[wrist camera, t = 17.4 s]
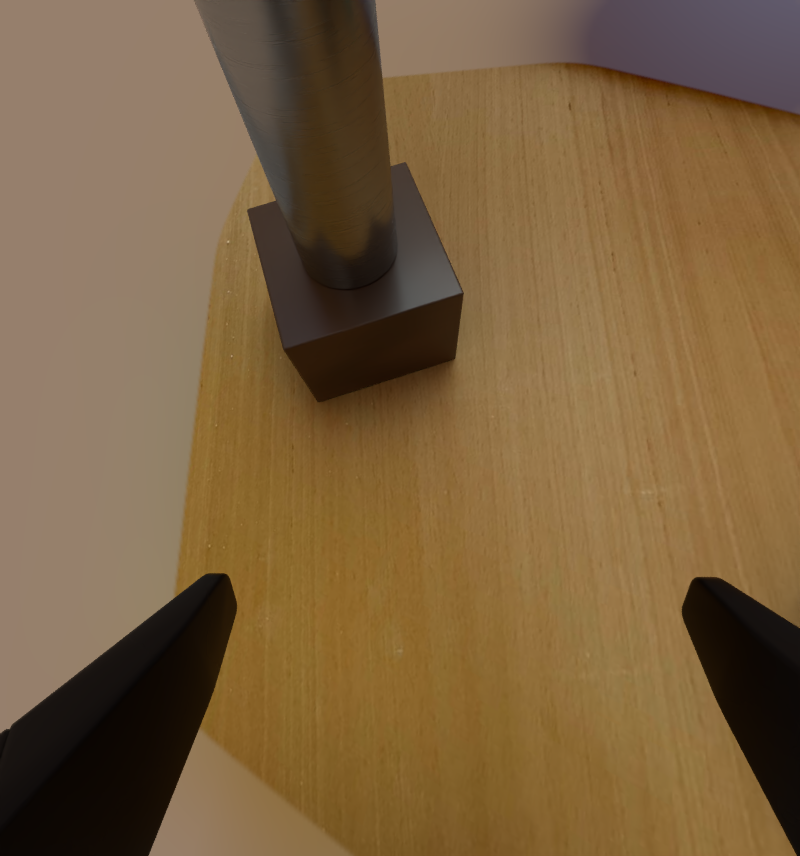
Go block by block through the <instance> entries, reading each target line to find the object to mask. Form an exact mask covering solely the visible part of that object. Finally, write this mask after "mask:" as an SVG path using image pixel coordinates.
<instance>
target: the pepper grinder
mask: <svg viewBox="0 0 800 856" xmlns="http://www.w3.org/2000/svg"><path fill="white" fill-rule="evenodd" d="M194 2H195V4H196V7H197V9H198V11H199V14H200V16H201V19H202V21H203V24H204V26H205V28H206V31H207V33H208V36H209V38H210V41H211V43H212V45H213V48H214V50H215V53H216V55H217V58H218V60H219V62H220V65H221V67H222V70H223V72H224V75H225V77H226V80H227V82H228V84H229V87H230V89H231V92H232V94H233V97H234V99H235V101H236V104H237V106H238V109H239V111H240V114H241V116H242V118H243V121H244V123H245V126H246V128H247V131H248V133H249V136H250V138H251V140H252V143H253V145H254V148H255V150H256V153H257V155H258V157H259V160H260V162H261V165H262V167H263V170H264V172H265V174H266V177H267V179H268V182H269V184H270V187H271V189H272V191H273V194H274V196H275V199H276V201H277V204H278V206H279V208H280V211H281V213H282V216H283V218H284V221H285V223H286V226H287V228H288V230H289V233H290V235H291V238H292V240H293V243H294V245H295V247H296V250H297V252H298V255H299V257H300V260H301V262H302V264H303V266H304V268H305V270H306V271H307V273H308V274H309V275H310V276H311V277H312V278H313V279H314V280H316V281H317V282H319V283H321V284H323V285H325V286H328V287H331V288H336V289H354V288H359V287H363V286H366V285H368V284H370V283H372V282H374V281H376V280H377V279H379V278H380V277H381V276H383V275H384V274H385V273H386V272H387V271H388V269H389V268H390V267H391V265H392V263H393V262H394V259H395V257H396V254H397V248H398V242H397V231H396V220H395V209H394V198H393V187H392V176H391V166H390V155H389V144H388V133H387V122H386V112H385V101H384V90H383V79H382V69H381V58H380V47H379V36H378V25H377V15H376V3H375V0H194Z"/></svg>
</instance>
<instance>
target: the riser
mask: <svg viewBox="0 0 800 856" xmlns="http://www.w3.org/2000/svg"><path fill="white" fill-rule="evenodd" d="M391 176H392V187H393V198H394V209H395V220H396V231H397V242H398V248H397V254H396V257H395V259H394V262H393V263H392V265H391V267H390V268H389V269H388V271H387V272H386V273H385V274H384V275H383V276H381V277H380V278H379V279H377V280H376V281H374V282H372V283H370V284H368V285H366V286H363V287H359V288H354V289H336V288H331V287H328V286H325V285H323V284H321V283H319V282H317V281H316V280H314V279H313V278H312V277H311V276H310V275H309V274H308V273H307V271H306V270H305V268H304V266H303V264H302V262H301V260H300V257H299V255H298V252H297V250H296V247H295V245H294V243H293V240H292V238H291V235H290V233H289V230H288V228H287V226H286V223H285V221H284V218H283V216H282V213H281V211H280V208H279V206H278V204H277V201H274V202H270V203H267V204H264V205H260V206H257V207H253V208H250V209H248V210H247V212H248V216H249V220H250V223H251V227H252V231H253V235H254V239H255V243H256V247H257V250H258V254H259V258H260V262H261V266H262V270H263V273H264V277H265V281H266V285H267V289H268V293H269V296H270V300H271V304H272V308H273V312H274V316H275V320H276V323H277V327H278V331H279V335H280V339H281V343H282V346H283V350H284V351H285V353H286V354H287V356H288V357H289V359H290V360H291V362H292V363H293V365H294V366H295V368H296V369H297V371H298V372H299V374H300V376H301V377H302V379H303V380H304V382H305V383H306V385H307V386H308V388H309V389H310V391H311V392H312V394H313V395H314V397H315V398H316V400H317V401H318V402H321V401H324V400H327V399H331V398H334V397H337V396H340V395H343V394H346V393H349V392H352V391H356V390H359V389H362V388H365V387H368V386H371V385H374V384H377V383H381V382H384V381H387V380H390V379H393V378H396V377H399V376H402V375H406V374H409V373H412V372H415V371H418V370H421V369H424V368H427V367H431V366H434V365H437V364H440V363H443V362H446V361H449V360H452V359H455V356H456V348H457V341H458V333H459V325H460V318H461V310H462V302H463V294H464V293H463V290H462V288H461V286H460V283H459V281H458V279H457V277H456V274H455V272H454V270H453V268H452V265H451V263H450V261H449V259H448V256H447V254H446V252H445V250H444V247H443V245H442V243H441V240H440V238H439V236H438V234H437V231H436V229H435V227H434V225H433V222H432V220H431V218H430V216H429V213H428V211H427V209H426V206H425V204H424V202H423V200H422V197H421V195H420V193H419V191H418V188H417V186H416V184H415V182H414V179H413V177H412V175H411V173H410V170H409V168H408V166H407V164H406V162H404V163H401V164H397V165H394V166H391Z"/></svg>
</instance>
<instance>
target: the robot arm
mask: <svg viewBox="0 0 800 856" xmlns="http://www.w3.org/2000/svg"><path fill="white" fill-rule="evenodd" d="M236 611H237V602H236V598H235V595H234V591H233V588H232V584H231V581H230V578H229V576H228V575H227V574H224V573H209V574H206V575H204V576H202V577H201V578H200V579H198V580H197V581H196V582H195V583H193V584H192V585H191V586H189V587H188V588H187V589H186V590H184V591H183V592H182V593H180V594H179V595H178V596H177V597H175V598H174V599H173V600H171V601H170V602H169V603H168V604H166V605H165V606H164V607H162V608H161V609H160V610H159V611H157V612H156V613H155V614H153V615H152V616H151V617H150V618H148V619H147V620H146V621H144V622H143V623H142V624H141V625H139V626H138V627H137V628H136V629H134V630H133V631H132V632H130V633H129V634H128V635H126V636H125V637H124V638H123V639H122V640H120V641H119V642H117V643H116V644H115V645H114V646H113V647H111V648H110V649H109V650H107V651H106V652H105V653H103V654H102V655H101V656H100V657H98V658H97V659H96V660H94V661H93V662H92V663H91V664H89V665H88V666H87V667H85V668H84V669H83V670H82V671H80V672H79V673H78V674H76V675H75V676H74V677H73V678H71V679H70V680H69V681H68V682H66V683H65V684H64V685H62V686H61V687H60V688H58V689H57V690H56V691H55V692H53V693H52V694H51V695H50V696H48V697H47V698H46V699H44V700H43V701H42V702H40V703H39V704H38V705H37V706H35V707H34V708H33V709H32V710H30V711H29V712H28V713H26V714H25V715H24V716H23V717H21V718H20V719H19V720H17V721H16V722H15V723H13V724H12V726H11V728H10V729H6V730H4V731H3V732H2V733H0V856H148V855H149V853H150V851H151V848H152V845H153V843H154V840H155V838H156V835H157V833H158V830H159V828H160V826H161V823H162V820H163V818H164V815H165V813H166V810H167V808H168V805H169V803H170V800H171V798H172V795H173V793H174V790H175V788H176V785H177V783H178V780H179V778H180V775H181V773H182V770H183V767H184V765H185V763H186V760H187V758H188V755H189V753H190V750H191V748H192V745H193V743H194V740H195V737H196V735H197V733H198V730H199V728H200V725H201V723H202V720H203V717H204V715H205V712H206V710H207V707H208V705H209V702H210V699H211V697H212V694H213V691H214V688H215V685H216V682H217V678H218V675H219V672H220V668H221V665H222V661H223V658H224V654H225V651H226V647H227V644H228V640H229V637H230V633H231V630H232V626H233V623H234V620H235V616H236ZM682 616H683V620H684V623H685V625H686V628H687V630H688V633H689V635H690V638H691V640H692V642H693V645H694V647H695V650H696V652H697V655H698V657H699V660H700V662H701V664H702V667H703V669H704V672H705V674H706V677H707V679H708V682H709V684H710V686H711V689H712V691H713V693H714V696H715V698H716V700H717V703H718V705H719V707H720V709H721V711H722V713H723V715H724V717H725V719H726V721H727V723H728V725H729V727H730V728H731V730H732V732H733V734H734V736H735V738H736V740H737V742H738V744H739V746H740V748H741V750H742V751H743V753H744V755H745V757H746V759H747V761H748V763H749V765H750V767H751V769H752V771H753V773H754V774H755V776H756V778H757V780H758V782H759V784H760V786H761V788H762V790H763V792H764V794H765V795H766V797H767V799H768V801H769V803H770V805H771V807H772V809H773V811H774V813H775V815H776V817H777V818H778V820H779V822H780V824H781V826H782V828H783V830H784V832H785V834H786V836H787V838H788V839H789V841H790V843H791V845H792V847H793V849H794V851H795V853H796V855H797V856H800V628H798V627H797V626H795V625H794V624H792V623H790V622H789V621H787V620H786V619H784V618H783V617H781V616H779V615H778V614H776V613H775V612H773V611H772V610H770V609H768V608H767V607H765V606H764V605H762V604H761V603H759V602H757V601H756V600H754V599H753V598H751V597H750V596H748V595H746V594H745V593H743V592H742V591H740V590H739V589H737V588H735V587H734V586H732V585H731V584H729V583H728V582H726V581H724V580H723V579H721V578H717V577H696V578H694V579H693V580H692V581H691V584H690V586H689V589H688V592H687V595H686V597H685V600H684V603H683V606H682Z"/></svg>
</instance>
